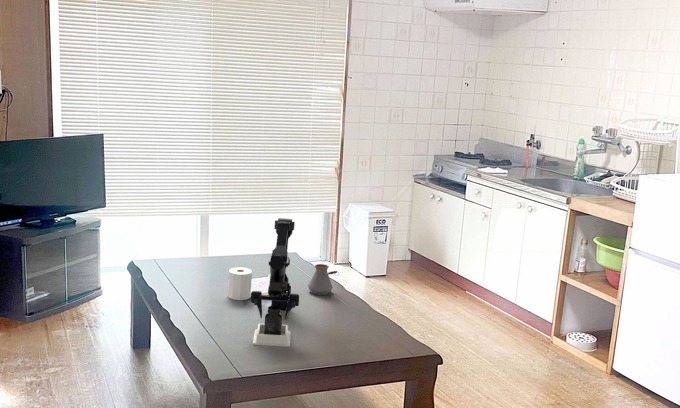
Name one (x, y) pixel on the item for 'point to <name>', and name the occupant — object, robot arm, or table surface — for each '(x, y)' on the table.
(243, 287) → the toilet paper
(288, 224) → the robot arm
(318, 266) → the coffee pot
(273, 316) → the supplement bottle
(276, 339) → the holder
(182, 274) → the table surface
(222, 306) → the table surface
